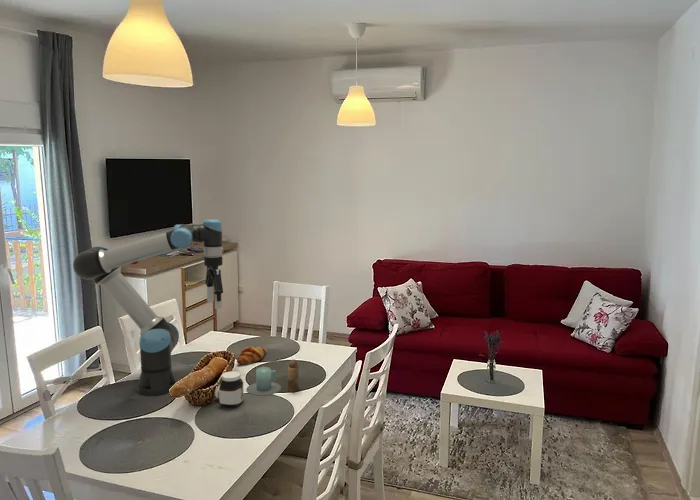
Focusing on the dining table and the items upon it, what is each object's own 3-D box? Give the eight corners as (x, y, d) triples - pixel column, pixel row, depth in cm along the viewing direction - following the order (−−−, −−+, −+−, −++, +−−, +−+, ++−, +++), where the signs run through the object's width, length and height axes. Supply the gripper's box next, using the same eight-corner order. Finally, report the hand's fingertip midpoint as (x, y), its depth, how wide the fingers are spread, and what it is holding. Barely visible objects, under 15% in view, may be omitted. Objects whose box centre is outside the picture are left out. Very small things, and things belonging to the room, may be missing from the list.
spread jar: (235, 410, 202) (235, 380, 201) (207, 407, 205) (206, 377, 203) (248, 397, 214) (247, 368, 212) (221, 394, 216) (220, 366, 215)
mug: (259, 392, 218) (259, 373, 217) (254, 387, 223) (254, 368, 222) (278, 388, 222) (277, 369, 221) (272, 383, 227) (272, 365, 226)
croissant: (260, 359, 267) (254, 344, 268) (276, 352, 263) (269, 337, 263) (233, 372, 248) (227, 356, 249) (249, 365, 244) (242, 349, 245)
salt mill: (290, 392, 218) (290, 362, 216) (285, 389, 222) (285, 359, 220) (300, 390, 220) (300, 360, 219) (295, 387, 224) (295, 357, 222)
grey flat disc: (253, 398, 213) (253, 397, 213) (241, 385, 225) (241, 385, 225) (286, 391, 220) (286, 390, 220) (273, 379, 232) (273, 379, 232)
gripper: (230, 260, 221) (231, 310, 224) (214, 251, 242) (215, 297, 245) (211, 261, 217) (212, 312, 220) (197, 252, 239) (198, 299, 242)
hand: (214, 305), depth 233 cm, fingers open, 13 cm apart
